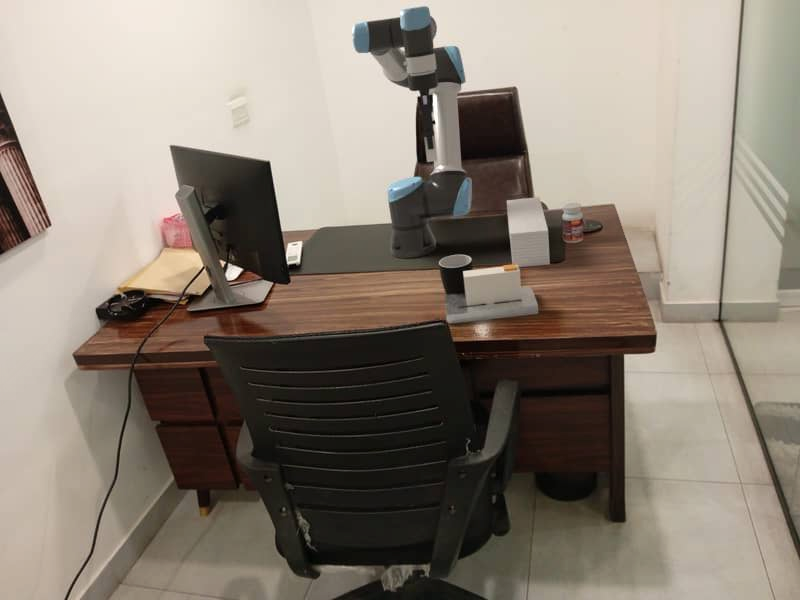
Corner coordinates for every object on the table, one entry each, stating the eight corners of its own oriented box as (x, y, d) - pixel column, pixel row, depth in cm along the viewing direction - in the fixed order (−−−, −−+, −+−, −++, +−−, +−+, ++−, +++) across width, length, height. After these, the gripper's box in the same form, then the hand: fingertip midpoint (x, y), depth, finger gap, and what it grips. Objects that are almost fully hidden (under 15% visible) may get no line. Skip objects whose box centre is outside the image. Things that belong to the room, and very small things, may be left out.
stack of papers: (508, 231, 225) (506, 200, 221) (541, 228, 223) (539, 197, 219) (512, 268, 196) (510, 233, 192) (549, 265, 195) (548, 230, 190)
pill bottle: (574, 245, 205) (572, 210, 200) (558, 241, 210) (557, 206, 205) (587, 239, 208) (586, 204, 203) (572, 235, 213) (571, 201, 208)
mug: (473, 301, 180) (469, 266, 175) (440, 302, 182) (436, 268, 178) (478, 282, 190) (475, 249, 186) (447, 283, 192) (443, 251, 188)
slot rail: (445, 303, 181) (444, 295, 180) (531, 293, 179) (530, 285, 178) (447, 324, 170) (446, 315, 169) (538, 313, 168) (537, 304, 167)
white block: (466, 305, 176) (462, 269, 172) (520, 299, 175) (517, 262, 171) (467, 311, 173) (463, 275, 168) (522, 305, 171) (519, 268, 167)
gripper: (408, 69, 182) (418, 146, 191) (406, 81, 160) (417, 168, 169) (435, 65, 182) (444, 143, 191) (437, 76, 159) (447, 164, 168)
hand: (431, 155), depth 180 cm, fingers open, 13 cm apart
